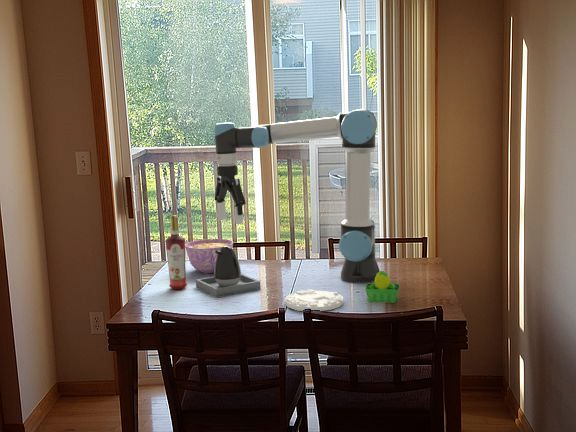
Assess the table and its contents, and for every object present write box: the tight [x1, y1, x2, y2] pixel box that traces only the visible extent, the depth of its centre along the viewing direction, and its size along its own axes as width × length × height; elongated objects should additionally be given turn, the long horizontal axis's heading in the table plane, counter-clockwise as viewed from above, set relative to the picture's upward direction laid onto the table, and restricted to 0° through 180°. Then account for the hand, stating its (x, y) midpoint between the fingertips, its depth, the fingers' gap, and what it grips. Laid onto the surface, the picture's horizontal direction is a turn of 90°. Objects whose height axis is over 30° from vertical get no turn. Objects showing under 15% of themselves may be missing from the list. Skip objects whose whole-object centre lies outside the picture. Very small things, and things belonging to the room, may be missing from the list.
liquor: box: [164, 214, 188, 291], centre depth 275 cm, size 7×7×28 cm
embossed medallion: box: [284, 288, 344, 312], centre depth 249 cm, size 20×20×3 cm
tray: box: [195, 273, 261, 298], centre depth 274 cm, size 18×18×3 cm
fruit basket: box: [364, 270, 401, 304], centre depth 248 cm, size 11×9×11 cm
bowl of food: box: [185, 238, 234, 274], centre depth 302 cm, size 20×20×12 cm
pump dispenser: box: [213, 246, 242, 287], centre depth 273 cm, size 10×10×15 cm
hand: (230, 221), depth 272 cm, fingers open, 13 cm apart
